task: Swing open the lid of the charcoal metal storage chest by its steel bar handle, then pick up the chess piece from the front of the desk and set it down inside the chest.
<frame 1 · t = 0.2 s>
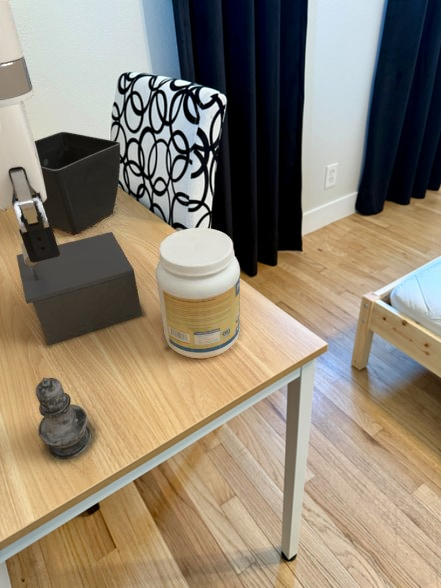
hand: (40, 238, 51), 22 cm above the table, tool pointing down, fingers open, 9 cm apart
chess piece: (70, 441, 55), on the table
lid: (70, 252, 69), point 11 cm above the table, hinge at 0.0°
supplement tub: (202, 335, 70), on the table
flower pot: (77, 218, 103), on the table
chest: (88, 306, 76), on the table
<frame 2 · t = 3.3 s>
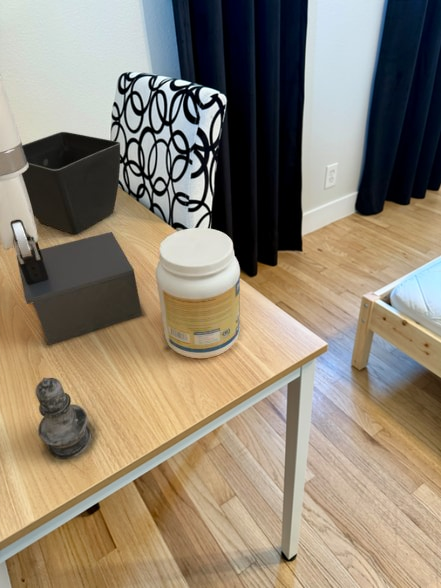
hand: (35, 270, 68), 10 cm above the table, tool pointing down, fingers closed on lid, 5 cm apart
lid: (70, 252, 69), point 11 cm above the table, hinge at -0.1°, touching gripper
everything else where it was.
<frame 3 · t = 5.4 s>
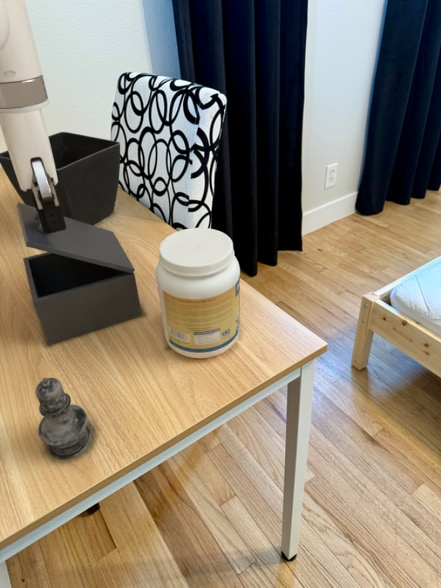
hand: (51, 221, 65), 17 cm above the table, tool pointing down, fingers closed on lid, 5 cm apart
lid: (80, 226, 67), point 16 cm above the table, hinge at 33.7°, touching gripper
everything else where it was.
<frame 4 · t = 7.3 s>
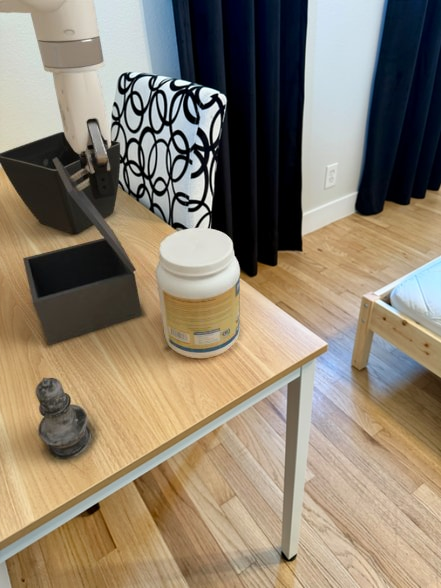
hand: (99, 188, 65), 21 cm above the table, tool pointing down, fingers closed on lid, 5 cm apart
lid: (106, 207, 67), point 18 cm above the table, hinge at 67.3°, touching gripper
everything else where it was.
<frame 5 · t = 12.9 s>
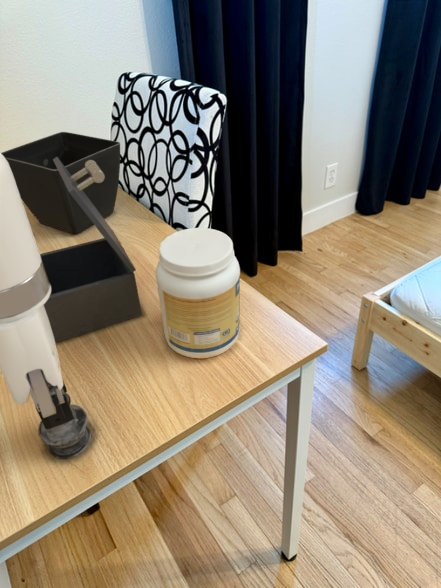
hand: (56, 407, 51), 7 cm above the table, tool pointing down, fingers closed on chess piece, 3 cm apart
chess piece: (70, 441, 55), on the table, touching gripper
lid: (106, 207, 67), point 18 cm above the table, hinge at 67.6°
everything else where it was.
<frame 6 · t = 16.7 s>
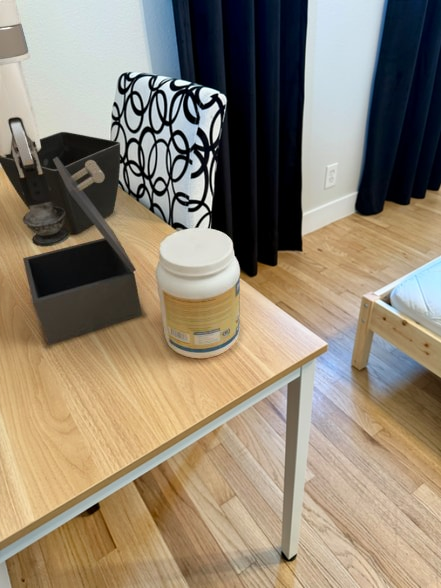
hand: (37, 195, 59), 23 cm above the table, tool pointing down, fingers closed on chess piece, 3 cm apart
chess piece: (51, 238, 64), point 16 cm above the table, touching gripper
everything else where it was.
when the fingers open (7 cm above the table, at t = 20.6 s): chess piece stays where it is, resting on chest.
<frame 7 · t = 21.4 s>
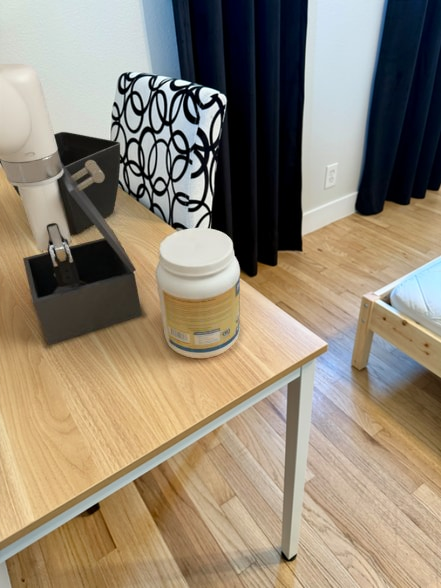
hand: (63, 267, 70), 9 cm above the table, tool pointing down, fingers open, 9 cm apart
chess piece: (76, 307, 75), point 1 cm above the table, touching chest
everything else where it was.
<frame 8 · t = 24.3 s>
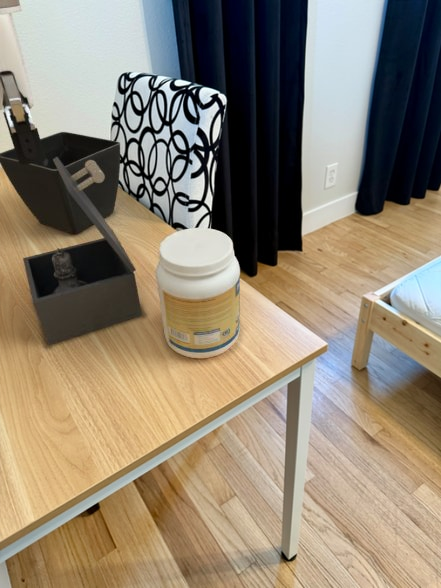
hand: (28, 150, 58), 28 cm above the table, tool pointing down, fingers open, 9 cm apart
nothing on the table moved.
at the end: lid at +68° (first picture: +0°); chess piece inside the target area in the chest (2.0 cm from its centre), point 0.6 cm above the chest's base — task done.
